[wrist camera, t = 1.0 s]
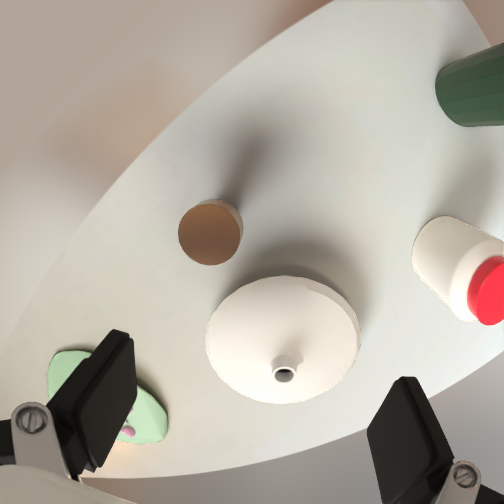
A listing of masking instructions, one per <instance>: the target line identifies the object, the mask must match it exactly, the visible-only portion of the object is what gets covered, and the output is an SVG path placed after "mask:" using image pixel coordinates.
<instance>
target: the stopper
mask: <svg viewBox="0 0 504 504" xmlns="http://www.w3.org/2000/svg"><path fill="white" fill-rule="evenodd" d="M242 235H243V221H242V218H241V216H240V214H239V212H238V211H237V210H236V208H235V207H234V206H232V205H231V204H229V203H228V202H226V201H223V200H219V199H209V200H205V201H203V202H201V203H199V204H198V205H196V206H195V207H193V208H192V209H190V210H189V211H188V212H187V213H186V214H185V215H184V216H183V218H182V220H181V222H180V225H179V229H178V237H179V242H180V245H181V247H182V249H183V250H184V252H185V253H186V254H187V255H188V256H189V257H190V258H191V259H192V260H194V261H196V262H198V263H200V264H203V265H218V264H221V263H224V262H226V261H227V260H229V259H230V258H231V257H232V256H233V255H234V254H235V252H236V250H237V248H238V246H239V244H240V241H241V239H242Z"/></svg>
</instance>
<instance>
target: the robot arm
mask: <svg viewBox="0 0 504 504" xmlns="http://www.w3.org/2000/svg"><path fill="white" fill-rule="evenodd" d="M137 393H138V391H137V381H136V369H135V356H134V341H133V339H132V338H130V337H129V334H128V333H126V332H122V331H119V330H115V329H112V330H111V331H110V332H109V334H108V335H107V336H106V337H105V338H104V340H103V341H102V342H101V343H100V344H99V346H98V347H97V348H96V349H95V350H94V352H93V353H92V354H91V355H90V356H89V358H84V359H83V360H82V361H81V362H80V363H79V365H78V366H77V367H76V368H75V369H74V371H73V372H72V373H71V374H70V376H69V377H68V378H67V379H66V381H65V382H64V383H63V384H62V386H61V387H60V388H59V389H58V391H57V392H56V393H55V394H54V396H53V397H52V398H51V400H50V401H49V402H48V403H47V405H46V406H44V405H42V404H40V403H37V402H27V403H23V404H21V405H19V406H18V407H17V408H16V409H15V410H14V411H13V413H12V415H11V419H9V420H2V421H0V504H137V503H134V502H131V501H128V500H124V499H122V498H119V497H116V496H113V495H110V494H108V493H105V492H103V491H100V490H98V489H95V488H93V487H90V486H87V485H85V484H83V483H82V481H81V478H80V474H82V472H83V470H84V469H86V470H88V471H91V472H93V473H94V472H95V470H96V468H97V467H99V468H100V467H102V466H103V464H104V462H105V460H106V458H107V456H108V454H109V452H110V450H111V448H112V446H113V444H114V442H115V440H116V438H117V436H118V434H119V432H120V430H121V428H122V426H123V424H124V422H125V420H126V418H127V416H128V414H129V413H130V411H131V409H132V407H133V405H134V403H135V401H136V398H137ZM367 437H368V441H369V446H370V449H371V454H372V458H373V462H374V467H375V471H376V476H377V480H378V485H379V489H380V494H381V499H382V503H383V504H504V495H502V494H500V493H498V492H496V491H494V490H492V489H489V488H488V487H486V486H484V485H482V484H480V483H481V474H480V471H479V469H478V468H477V467H476V466H475V465H474V464H472V463H471V462H468V461H458V462H456V463H455V464H454V463H453V461H452V460H453V459H454V458H455V457H454V455H453V453H452V451H451V448H450V446H449V444H448V441H447V439H446V437H445V435H444V433H443V431H442V428H441V426H440V424H439V422H438V420H437V418H436V416H435V414H434V411H433V409H432V407H431V405H430V403H429V401H428V399H427V397H426V395H425V393H424V391H423V389H422V387H421V385H420V383H419V382H418V380H417V378H416V377H404V376H402V377H400V378H399V379H398V380H396V381H395V382H394V383H393V385H392V387H391V389H390V391H389V393H388V394H387V396H386V398H385V400H384V401H383V403H382V405H381V407H380V408H379V410H378V412H377V413H376V415H375V417H374V418H373V420H372V421H371V423H370V425H369V426H368V429H367Z"/></svg>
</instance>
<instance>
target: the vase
mask: <svg viewBox="0 0 504 504" xmlns="http://www.w3.org/2000/svg"><path fill="white" fill-rule="evenodd" d="M360 346H361V329H360V326H359V322H358V319H357V316H356V313H355V312H354V311H353V309H352V308H351V307H350V305H349V304H348V303H347V301H346V300H345V298H343V297H342V296H340V295H339V294H338V293H336V292H335V291H334V290H332V289H331V288H329V287H328V286H326V285H324V284H321V283H318V282H316V281H313V280H310V279H308V278H304V277H295V276H286V275H283V276H275V277H268V278H262V279H259V280H257V281H254V282H252V283H249V284H247V285H244V286H242V287H240V288H239V289H238V290H236V291H235V292H234V293H232V294H231V295H229V296H228V297H227V298H225V299H224V300H223V301H222V302H221V304H220V305H219V306H218V307H217V309H216V310H215V311H214V313H213V314H212V316H211V318H210V321H209V324H208V327H207V329H206V345H205V348H206V351H207V355H208V358H209V361H210V364H211V365H212V367H213V368H214V370H215V371H216V373H217V374H218V376H219V377H220V378H221V379H222V380H223V381H225V382H226V383H227V384H228V385H229V386H230V387H231V388H233V389H234V390H235V391H237V392H239V393H241V394H243V395H245V396H247V397H249V398H252V399H255V400H258V401H262V402H266V403H277V404H287V403H296V402H302V401H305V400H308V399H311V398H315V397H317V396H319V395H321V394H323V393H324V392H326V391H328V390H330V389H331V388H332V387H333V386H335V385H336V384H337V383H338V382H339V381H340V380H341V379H343V378H344V377H345V376H346V375H347V373H348V372H349V370H350V369H351V367H352V366H353V364H354V363H355V361H356V358H357V355H358V352H359V349H360Z"/></svg>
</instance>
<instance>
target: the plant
mask: <svg viewBox="0 0 504 504" xmlns="http://www.w3.org/2000/svg"><path fill="white" fill-rule="evenodd" d="M91 354H92V353H89V352H85V351H79V350H73V351H62V352H59V353H57V354H56V355H55V357H54V358H53V359H52V361H51V364H50V366H49V369H48V372H47V386H48V396H49V401H50V400H51V398H52V397H53V396H54V394H55V393H56V392H57V391H58V389H59V388H60V387H61V386H62V384H63V383H64V382H65V381H66V379H67V378H68V377H69V376H70V374H71V373H72V372H73V371H74V369H75V368H76V367H77V366H78V365H79V363H80V362H81V361H82V360H83V359H84V358H89V356H90V355H91ZM137 391H138V393H137V398H136V401H135V403H134V405H133V407H132V409H131V411H130V413H129V414H128V416H127V418H126V420H125V422H124V424H123V426H122V428H121V430H120V432H119V434H118V436H117V438H116V440H118V441H123V442H128V443H135V444H145V443H153V442H160V441H161V440H162V439H163V438H164V437H165V436H166V433H167V427H168V421H167V415H166V412H165V411H164V409H163V408H162V407H161V406H160V404H159V403H158V402H157V401H156V400H155V398H154V397H153V396H151V395H150V394H149V393H148V392H146V391H145V390H144V389H142V388H141V387H140V386H138V385H137Z"/></svg>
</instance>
